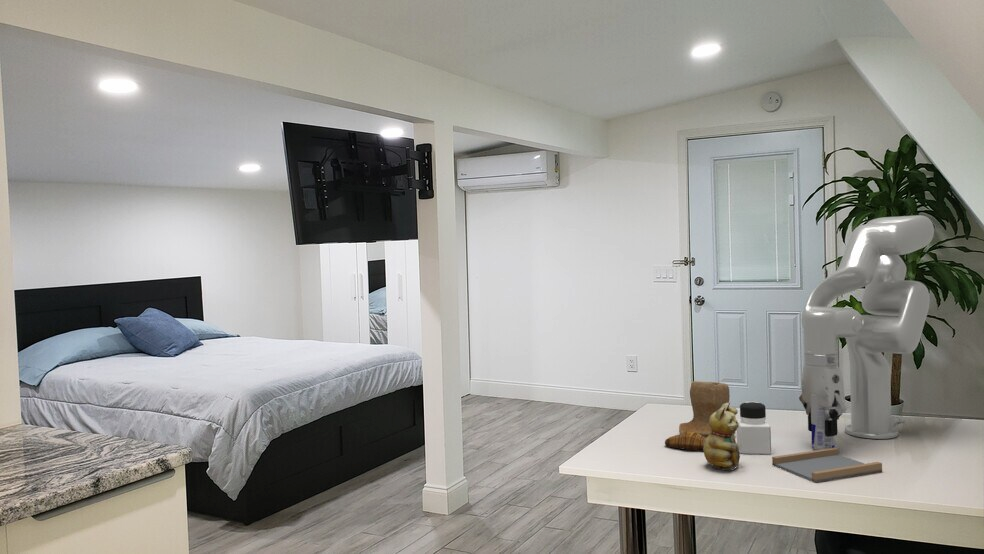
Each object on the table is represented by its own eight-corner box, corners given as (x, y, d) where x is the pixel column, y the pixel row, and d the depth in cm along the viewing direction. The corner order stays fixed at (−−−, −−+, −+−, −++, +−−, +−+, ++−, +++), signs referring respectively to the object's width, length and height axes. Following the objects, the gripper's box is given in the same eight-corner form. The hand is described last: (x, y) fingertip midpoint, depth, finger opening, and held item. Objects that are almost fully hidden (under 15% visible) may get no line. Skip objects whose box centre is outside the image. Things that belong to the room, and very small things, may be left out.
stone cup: (730, 429, 202) (728, 376, 202) (738, 440, 190) (736, 384, 190) (674, 429, 204) (673, 377, 204) (679, 440, 192) (677, 385, 192)
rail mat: (835, 455, 173) (834, 447, 173) (882, 472, 160) (882, 463, 160) (772, 465, 168) (772, 456, 168) (815, 482, 155) (815, 473, 155)
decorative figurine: (736, 474, 162) (734, 408, 162) (699, 470, 166) (697, 406, 166) (743, 462, 171) (741, 400, 170) (708, 459, 175) (706, 398, 174)
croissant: (661, 450, 185) (661, 431, 184) (667, 443, 191) (667, 425, 191) (716, 455, 179) (715, 435, 178) (720, 448, 185) (719, 428, 185)
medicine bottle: (771, 454, 177) (770, 406, 176) (741, 454, 178) (739, 406, 178) (766, 446, 183) (765, 400, 183) (737, 446, 185) (735, 400, 185)
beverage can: (833, 447, 180) (831, 388, 180) (835, 453, 175) (834, 392, 175) (811, 446, 182) (809, 387, 181) (812, 452, 177) (811, 391, 176)
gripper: (860, 363, 171) (861, 439, 171) (808, 354, 187) (810, 424, 188) (834, 366, 168) (836, 443, 169) (784, 357, 185) (786, 427, 185)
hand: (822, 432), depth 178 cm, fingers closed on beverage can, 5 cm apart
